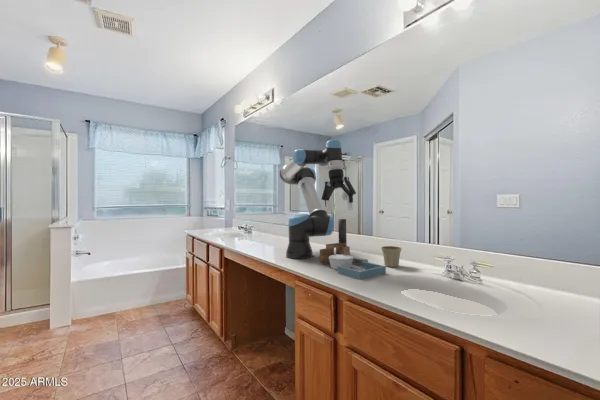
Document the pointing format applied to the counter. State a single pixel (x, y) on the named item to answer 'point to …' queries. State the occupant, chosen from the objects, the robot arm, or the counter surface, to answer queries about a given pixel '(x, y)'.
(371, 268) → the frame
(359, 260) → the rail
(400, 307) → the counter surface
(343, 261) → the ramekin
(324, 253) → the pusher
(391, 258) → the flower pot
